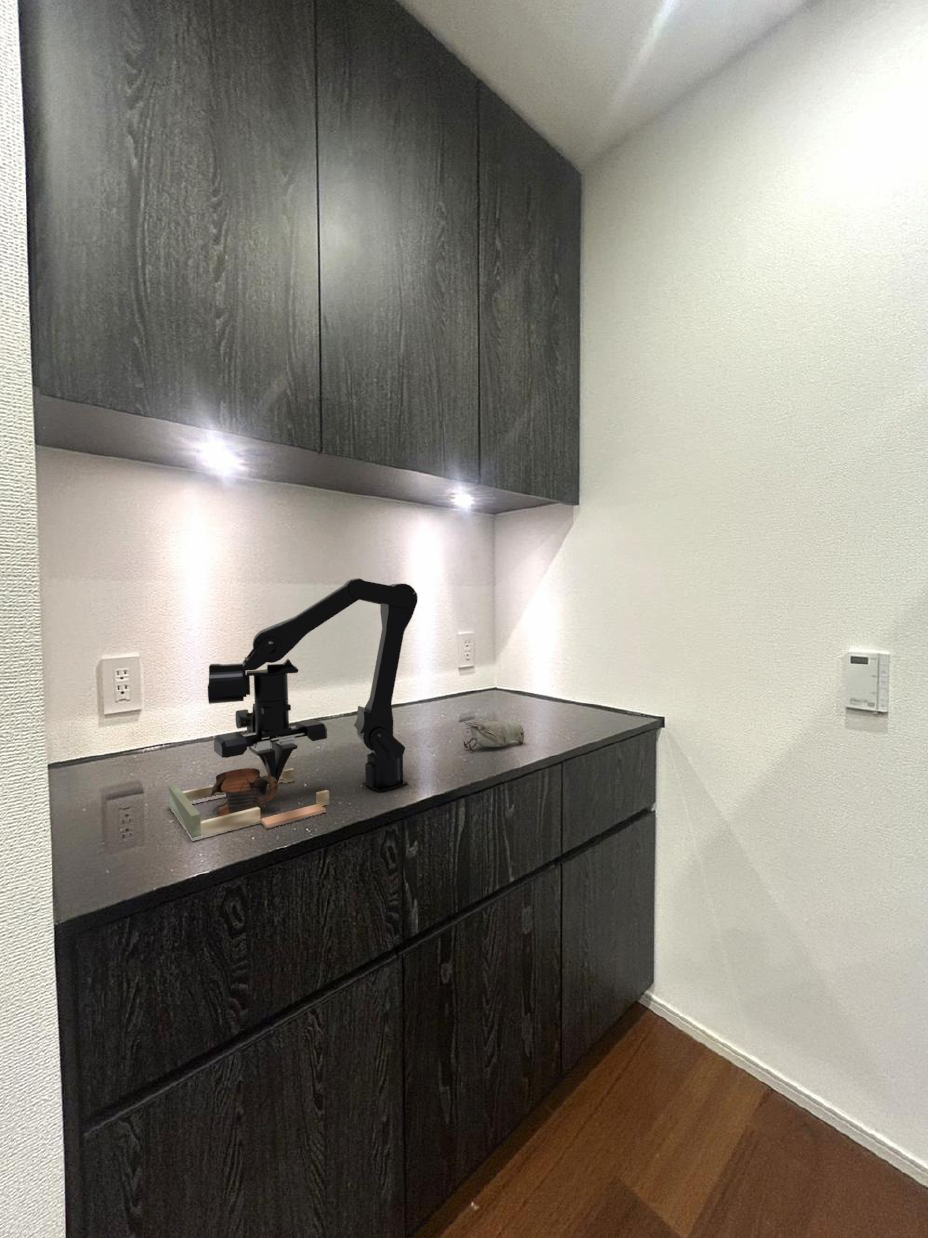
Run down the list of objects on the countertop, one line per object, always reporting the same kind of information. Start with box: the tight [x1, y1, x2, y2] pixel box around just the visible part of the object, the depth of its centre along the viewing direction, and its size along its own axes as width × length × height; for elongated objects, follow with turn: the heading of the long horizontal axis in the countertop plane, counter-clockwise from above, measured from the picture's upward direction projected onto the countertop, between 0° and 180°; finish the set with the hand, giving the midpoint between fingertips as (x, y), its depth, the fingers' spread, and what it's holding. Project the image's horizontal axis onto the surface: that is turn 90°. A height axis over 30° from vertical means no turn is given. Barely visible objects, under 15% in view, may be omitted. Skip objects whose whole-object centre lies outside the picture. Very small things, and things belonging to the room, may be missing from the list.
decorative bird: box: [462, 720, 525, 754], centre depth 131 cm, size 5×16×7 cm, turn 117°
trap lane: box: [168, 767, 330, 838], centre depth 96 cm, size 22×23×4 cm
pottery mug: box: [211, 767, 279, 817], centre depth 95 cm, size 12×9×8 cm
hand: (274, 784), depth 99 cm, fingers closed
